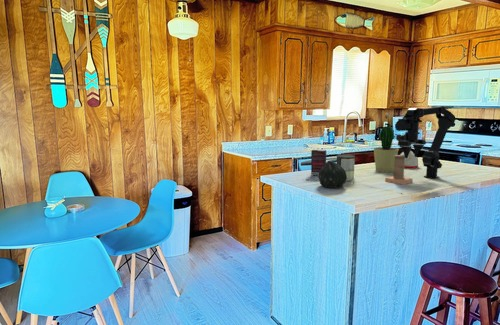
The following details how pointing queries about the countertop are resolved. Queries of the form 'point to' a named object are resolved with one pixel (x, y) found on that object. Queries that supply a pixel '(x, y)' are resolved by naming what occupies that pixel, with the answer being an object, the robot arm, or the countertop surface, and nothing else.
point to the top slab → (399, 180)
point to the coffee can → (347, 164)
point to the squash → (332, 175)
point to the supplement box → (317, 161)
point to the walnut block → (399, 166)
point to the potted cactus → (385, 151)
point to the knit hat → (410, 161)
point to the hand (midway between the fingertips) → (410, 157)
